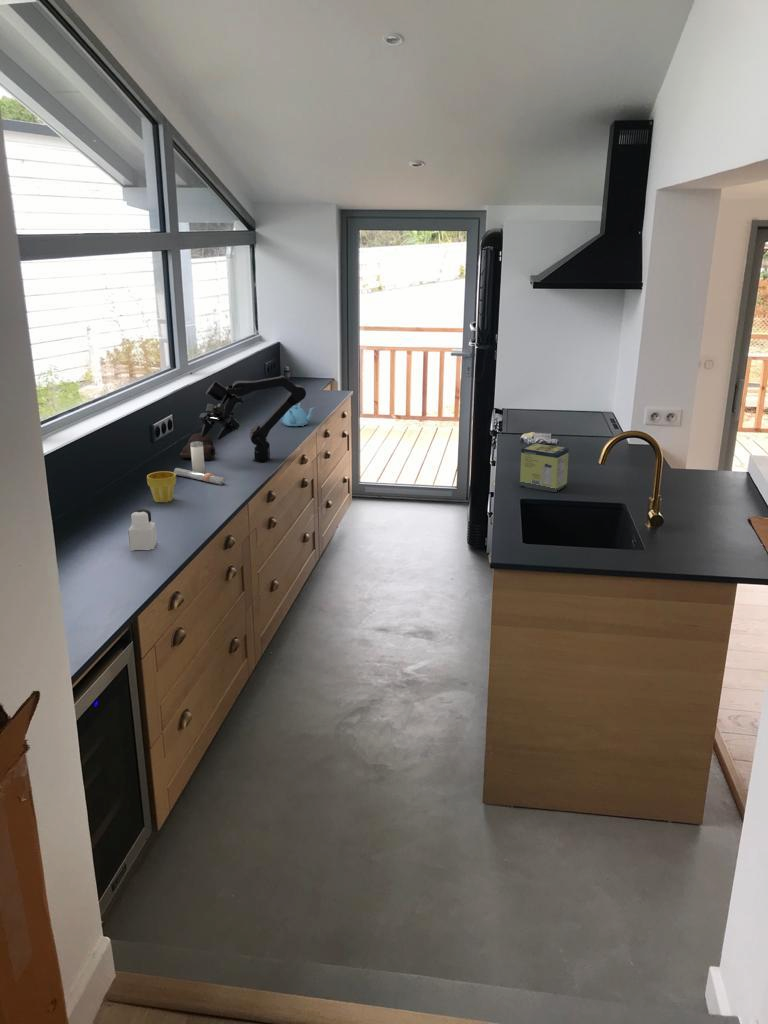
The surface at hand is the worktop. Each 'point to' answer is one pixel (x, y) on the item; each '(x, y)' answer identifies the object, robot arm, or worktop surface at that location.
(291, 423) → the teapot
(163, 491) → the plant pot
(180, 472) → the grey steel rod
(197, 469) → the white grey cylinder
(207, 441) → the dark brown lump
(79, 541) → the worktop surface
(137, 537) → the medicine bottle
